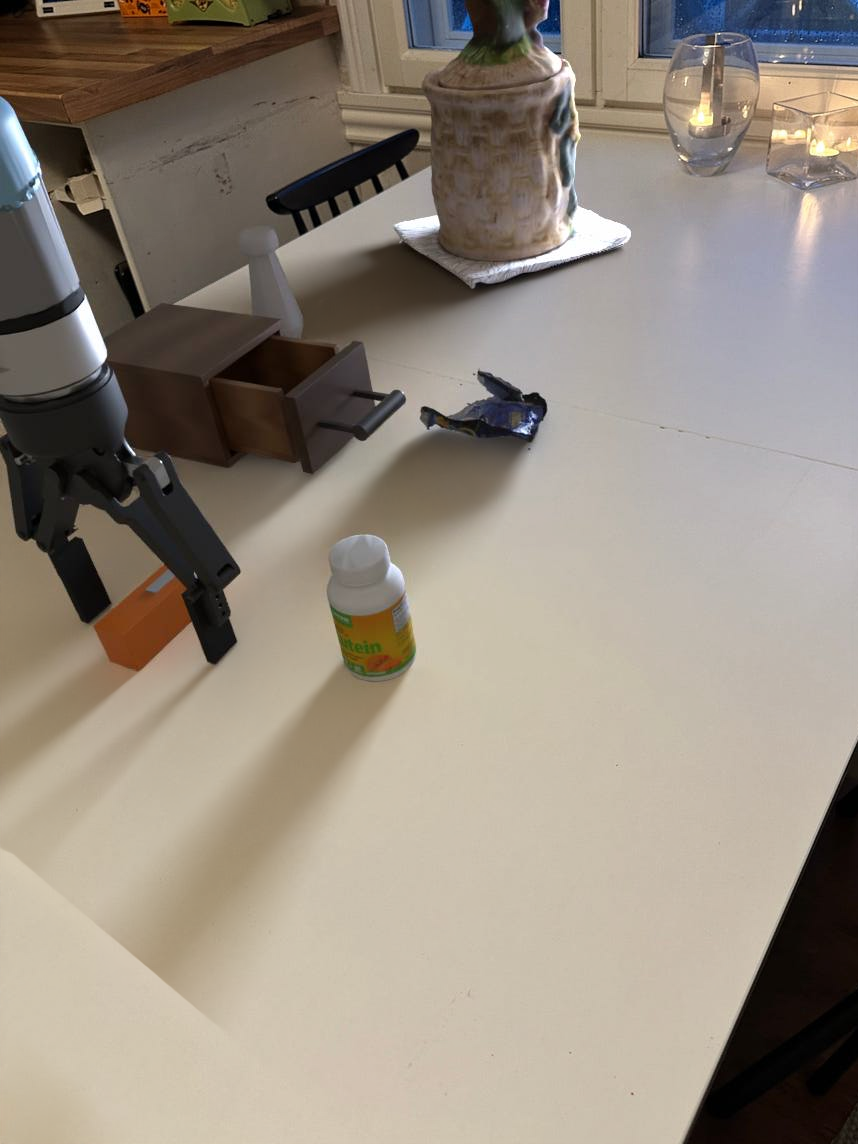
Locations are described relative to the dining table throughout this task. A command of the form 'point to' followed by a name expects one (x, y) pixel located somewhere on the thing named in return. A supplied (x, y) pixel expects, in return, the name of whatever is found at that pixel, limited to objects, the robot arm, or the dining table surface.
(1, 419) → the robot arm
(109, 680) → the dining table surface
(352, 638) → the supplement bottle
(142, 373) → the cabinet
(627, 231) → the cookie jar
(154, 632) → the taped cardboard carton
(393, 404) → the drawer
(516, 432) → the snack package
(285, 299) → the salt shaker
